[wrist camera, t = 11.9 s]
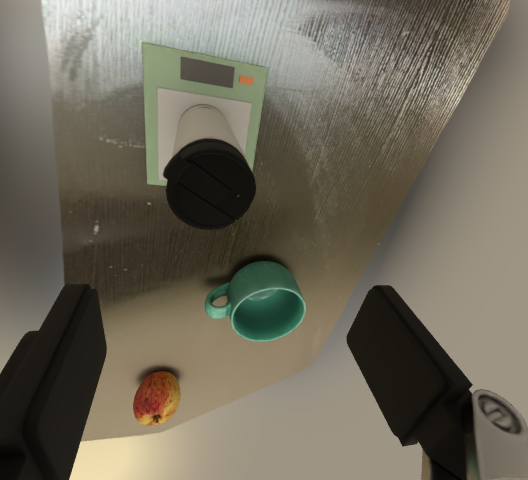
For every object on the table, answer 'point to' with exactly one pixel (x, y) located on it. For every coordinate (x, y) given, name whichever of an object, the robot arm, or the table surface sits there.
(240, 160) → the travel mug
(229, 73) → the scale
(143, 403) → the apple
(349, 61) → the table surface
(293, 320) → the mug
